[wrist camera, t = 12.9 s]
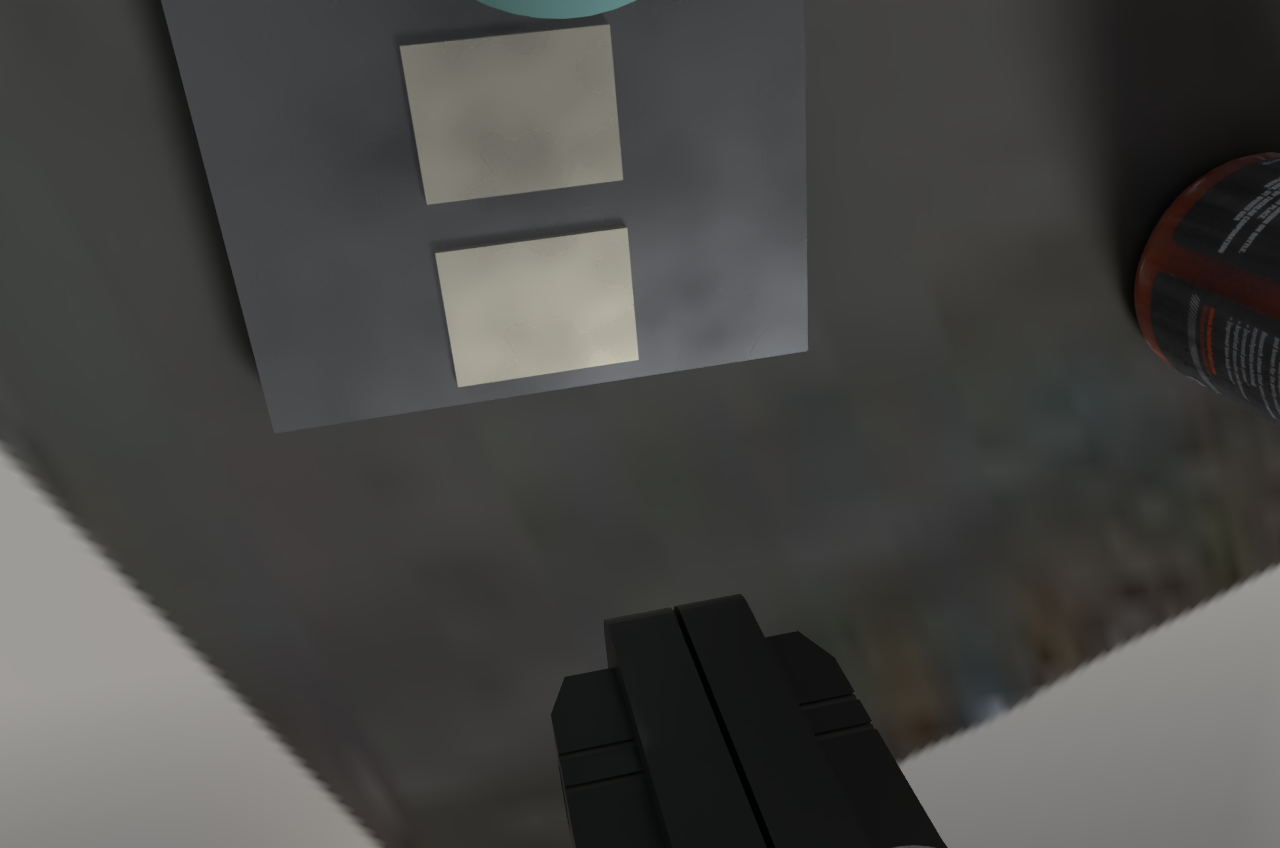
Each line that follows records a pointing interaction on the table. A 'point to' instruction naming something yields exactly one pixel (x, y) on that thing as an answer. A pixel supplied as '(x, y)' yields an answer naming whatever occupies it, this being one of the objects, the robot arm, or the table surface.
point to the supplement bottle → (1219, 283)
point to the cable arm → (556, 7)
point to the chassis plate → (499, 193)
